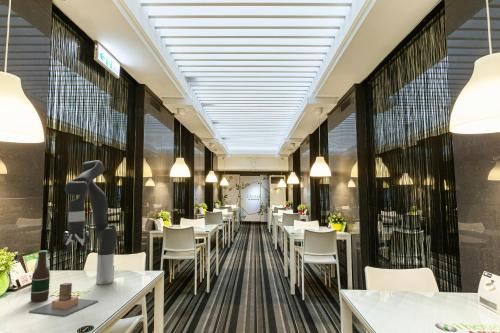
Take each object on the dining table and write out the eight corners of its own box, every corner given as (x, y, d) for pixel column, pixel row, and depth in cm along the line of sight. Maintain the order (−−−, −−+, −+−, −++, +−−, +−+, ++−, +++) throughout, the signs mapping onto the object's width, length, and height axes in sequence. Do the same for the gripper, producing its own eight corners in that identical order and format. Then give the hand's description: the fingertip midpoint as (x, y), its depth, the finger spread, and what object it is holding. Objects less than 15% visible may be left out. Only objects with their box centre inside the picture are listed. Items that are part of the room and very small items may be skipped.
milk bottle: (29, 286, 182) (32, 251, 184) (41, 283, 190) (43, 249, 192) (40, 287, 180) (42, 252, 182) (51, 283, 188) (53, 250, 190)
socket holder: (65, 298, 160) (65, 291, 160) (98, 301, 155) (98, 294, 155) (28, 312, 141) (29, 304, 141) (64, 316, 136) (65, 307, 136)
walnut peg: (64, 304, 150) (65, 282, 151) (70, 304, 149) (71, 283, 150) (58, 306, 147) (59, 284, 148) (64, 307, 146) (65, 285, 147)
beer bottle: (32, 298, 160) (35, 251, 163) (50, 296, 163) (53, 250, 165) (28, 303, 153) (31, 253, 155) (46, 301, 156) (49, 252, 158)
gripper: (93, 219, 162) (93, 251, 161) (70, 219, 165) (70, 250, 164) (83, 221, 154) (82, 254, 153) (59, 221, 157) (58, 253, 156)
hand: (76, 252), depth 158 cm, fingers open, 8 cm apart
